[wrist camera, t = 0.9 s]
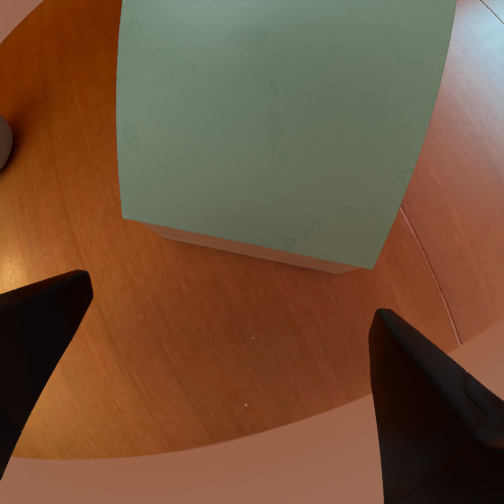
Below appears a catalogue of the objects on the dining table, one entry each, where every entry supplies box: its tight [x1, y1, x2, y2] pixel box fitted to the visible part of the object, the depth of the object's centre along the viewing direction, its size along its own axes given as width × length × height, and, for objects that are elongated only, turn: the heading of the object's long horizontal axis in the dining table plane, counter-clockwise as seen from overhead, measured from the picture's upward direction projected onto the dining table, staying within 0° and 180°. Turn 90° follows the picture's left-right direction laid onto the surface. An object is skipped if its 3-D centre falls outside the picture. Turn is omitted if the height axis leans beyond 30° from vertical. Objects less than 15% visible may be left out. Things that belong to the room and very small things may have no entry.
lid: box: [116, 0, 456, 270], centre depth 11 cm, size 14×14×1 cm
